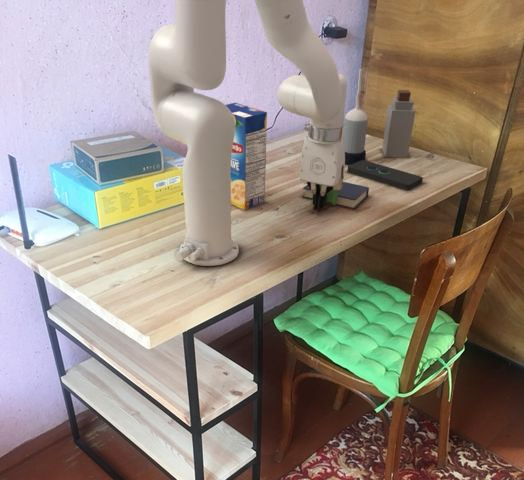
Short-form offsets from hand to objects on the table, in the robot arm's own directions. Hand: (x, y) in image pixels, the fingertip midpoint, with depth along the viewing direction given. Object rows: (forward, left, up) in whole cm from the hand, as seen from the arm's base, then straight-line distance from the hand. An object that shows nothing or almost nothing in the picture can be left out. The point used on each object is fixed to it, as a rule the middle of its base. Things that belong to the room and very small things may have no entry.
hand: (318, 208), depth 144 cm
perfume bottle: (+51, -2, -1) cm, 52 cm away
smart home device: (+31, -6, -1) cm, 31 cm away
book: (+10, 0, -1) cm, 10 cm away
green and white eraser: (+5, 0, +4) cm, 6 cm away
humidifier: (+38, +7, -1) cm, 39 cm away
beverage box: (-5, +20, -1) cm, 20 cm away
